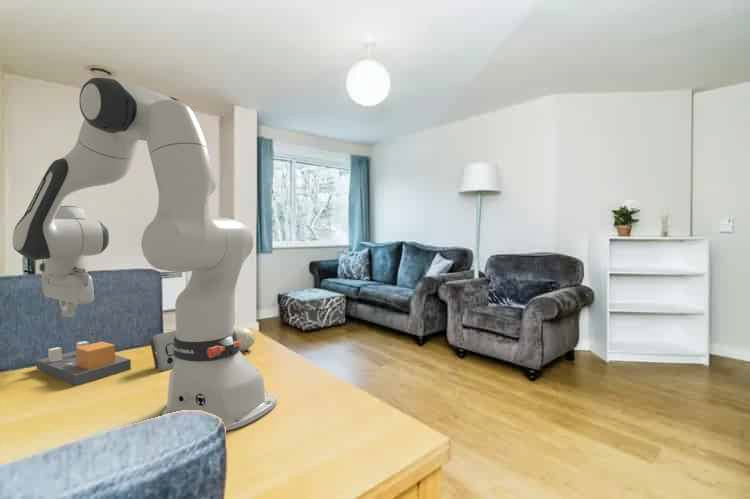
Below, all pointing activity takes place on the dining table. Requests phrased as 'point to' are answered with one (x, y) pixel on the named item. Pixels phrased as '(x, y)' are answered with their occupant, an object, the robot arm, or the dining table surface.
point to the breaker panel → (80, 369)
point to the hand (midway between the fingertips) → (68, 316)
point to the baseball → (245, 338)
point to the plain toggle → (55, 354)
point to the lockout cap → (95, 355)
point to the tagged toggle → (82, 343)
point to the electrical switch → (163, 350)
